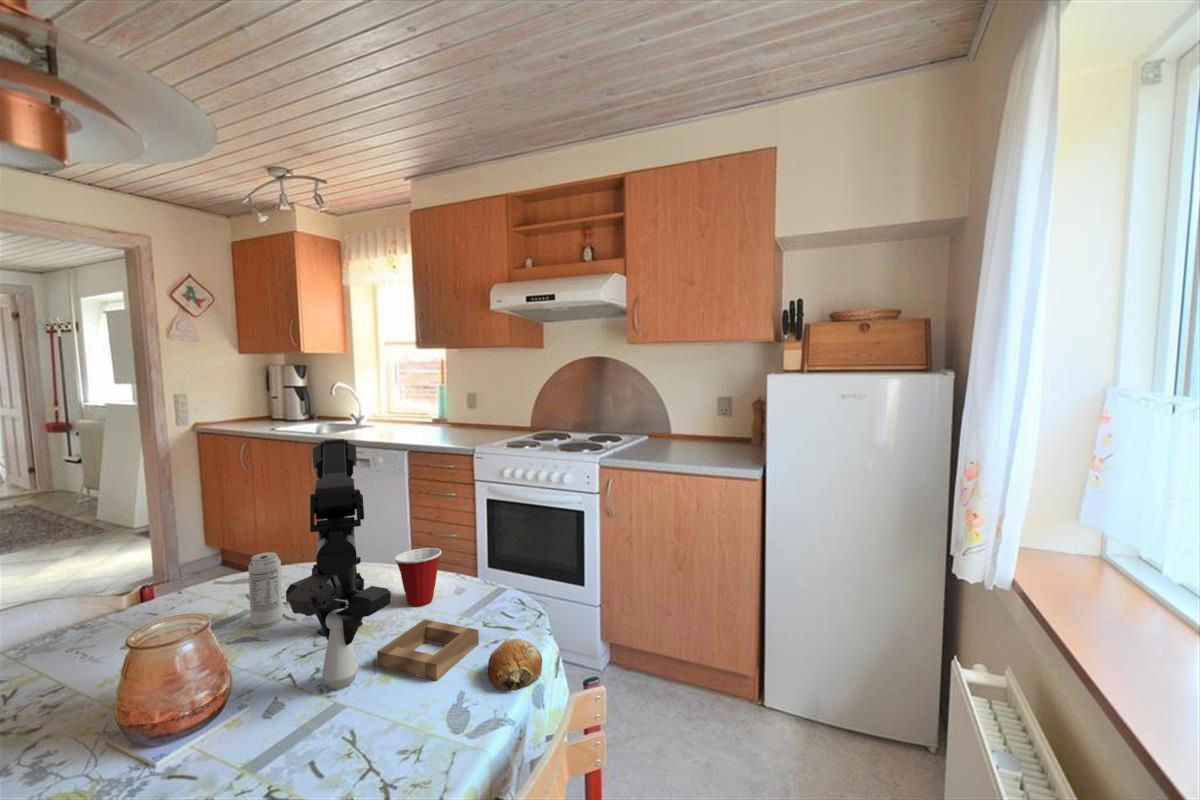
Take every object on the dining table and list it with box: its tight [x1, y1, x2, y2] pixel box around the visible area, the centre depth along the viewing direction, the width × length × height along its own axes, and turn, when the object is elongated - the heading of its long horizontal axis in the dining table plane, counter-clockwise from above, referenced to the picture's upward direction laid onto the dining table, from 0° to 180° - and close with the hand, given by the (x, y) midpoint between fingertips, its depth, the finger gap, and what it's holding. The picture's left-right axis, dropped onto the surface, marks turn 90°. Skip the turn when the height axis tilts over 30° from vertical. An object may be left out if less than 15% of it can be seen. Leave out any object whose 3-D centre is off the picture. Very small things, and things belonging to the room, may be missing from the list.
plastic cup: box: [394, 547, 442, 608], centre depth 125 cm, size 11×11×12 cm
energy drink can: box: [247, 551, 284, 629], centre depth 115 cm, size 6×6×15 cm
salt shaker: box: [321, 609, 360, 691], centre depth 92 cm, size 6×6×13 cm
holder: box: [376, 619, 480, 681], centre depth 102 cm, size 13×13×3 cm
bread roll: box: [487, 638, 543, 691], centre depth 95 cm, size 10×10×8 cm
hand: (339, 641), depth 92 cm, fingers closed on salt shaker, 4 cm apart
